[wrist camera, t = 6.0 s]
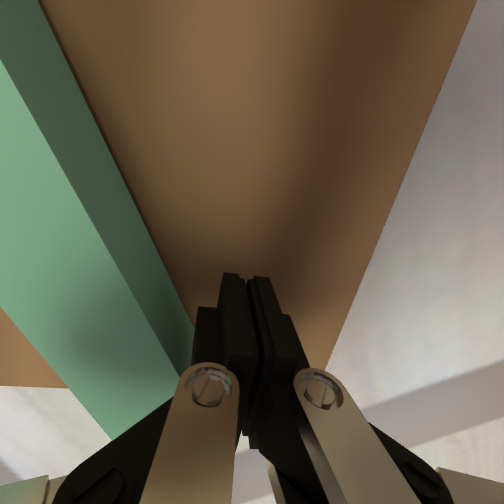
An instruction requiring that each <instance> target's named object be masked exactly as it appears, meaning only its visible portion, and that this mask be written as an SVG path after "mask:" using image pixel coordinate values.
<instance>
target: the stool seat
mask: <svg viewBox="0 0 504 504" xmlns="http://www.w3.org/2000/svg"><path fill="white" fill-rule="evenodd" d="M37 1H38V3H39V5H40V7H41V9H42V11H43V13H44V15H45V17H46V19H47V21H48V24H49V26H50V28H51V30H52V32H53V34H54V36H55V38H56V40H57V42H58V45H59V47H60V49H61V51H62V53H63V55H64V57H65V59H66V61H67V63H68V65H69V68H70V70H71V72H72V74H73V76H74V78H75V80H76V82H77V84H78V86H79V89H80V91H81V93H82V95H83V97H84V99H85V101H86V103H87V105H88V107H89V109H90V112H91V114H92V116H93V118H94V120H95V122H96V124H97V126H98V128H99V130H100V132H101V135H102V137H103V139H104V141H105V143H106V145H107V147H108V149H109V151H110V153H111V156H112V158H113V160H114V162H115V164H116V166H117V168H118V170H119V172H120V174H121V176H122V179H123V181H124V183H125V185H126V187H127V189H128V191H129V193H130V195H131V197H132V200H133V202H134V204H135V206H136V208H137V210H138V212H139V214H140V216H141V218H142V220H143V223H144V225H145V227H146V229H147V231H148V233H149V235H150V237H151V239H152V241H153V244H154V246H155V248H156V250H157V252H158V254H159V256H160V258H161V260H162V262H163V264H164V267H165V269H166V271H167V273H168V275H169V277H170V279H171V281H172V283H173V285H174V288H175V290H176V292H177V294H178V296H179V298H180V300H181V302H182V304H183V306H184V308H185V311H186V313H187V315H188V317H189V319H190V321H191V323H192V325H193V327H194V329H195V323H196V317H197V310H198V306H203V307H214V308H217V303H218V298H219V292H220V286H221V281H222V275H223V272H228V273H237V274H239V277H240V278H244V280H245V285H246V283H247V280H248V279H253V276H263V277H269V278H270V280H271V283H272V286H273V288H274V291H275V294H276V297H277V299H278V302H279V305H280V308H281V311H282V313H283V314H288V315H290V317H291V319H292V322H293V324H294V327H295V329H296V332H297V334H298V337H299V339H300V342H301V344H302V347H303V350H304V352H305V355H306V357H307V360H308V362H309V365H310V367H311V368H317V369H321V370H325V368H326V365H327V363H328V360H329V358H330V356H331V353H332V351H333V348H334V346H335V344H336V341H337V339H338V336H339V334H340V331H341V329H342V327H343V324H344V322H345V319H346V317H347V314H348V312H349V310H350V307H351V305H352V302H353V300H354V297H355V295H356V293H357V290H358V288H359V285H360V283H361V280H362V278H363V276H364V273H365V271H366V268H367V266H368V264H369V261H370V259H371V256H372V254H373V251H374V249H375V247H376V244H377V242H378V239H379V237H380V234H381V232H382V230H383V227H384V225H385V222H386V220H387V217H388V215H389V213H390V210H391V208H392V205H393V203H394V201H395V198H396V196H397V193H398V191H399V188H400V186H401V184H402V181H403V179H404V176H405V174H406V171H407V169H408V167H409V164H410V162H411V159H412V157H413V154H414V152H415V150H416V147H417V145H418V142H419V140H420V137H421V135H422V133H423V130H424V128H425V125H426V123H427V121H428V118H429V116H430V113H431V111H432V108H433V106H434V104H435V101H436V99H437V96H438V94H439V91H440V89H441V87H442V84H443V82H444V79H445V77H446V74H447V72H448V70H449V67H450V65H451V62H452V60H453V58H454V55H455V53H456V50H457V48H458V45H459V43H460V41H461V38H462V36H463V33H464V31H465V28H466V26H467V24H468V21H469V19H470V16H471V14H472V11H473V9H474V7H475V4H476V2H477V0H37ZM0 386H23V387H47V388H68V387H67V386H66V385H65V383H64V382H63V381H62V380H61V379H60V377H59V376H58V375H57V374H56V373H55V371H54V370H53V369H52V368H51V367H50V365H49V364H48V363H47V362H46V361H45V359H44V358H43V357H42V356H41V355H40V353H39V352H38V351H37V350H36V349H35V347H34V346H33V345H32V344H31V343H30V341H29V340H28V339H27V338H26V337H25V335H24V334H23V333H22V332H21V331H20V330H19V328H18V327H17V326H16V325H15V324H14V322H13V321H12V320H11V319H10V318H9V316H8V315H7V314H6V313H5V312H4V310H3V309H2V308H1V307H0Z"/></svg>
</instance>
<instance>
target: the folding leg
mask: <svg viewBox="0 0 504 504" xmlns="http://www.w3.org/2000/svg"><path fill="white" fill-rule="evenodd" d="M0 307H1V308H2V309H3V310H4V312H5V313H6V314H7V315H8V316H9V318H10V319H11V320H12V321H13V322H14V324H15V325H16V326H17V327H18V328H19V330H20V331H21V332H22V333H23V334H24V335H25V337H26V338H27V339H28V340H29V341H30V343H31V344H32V345H33V346H34V347H35V349H36V350H37V351H38V352H39V353H40V355H41V356H42V357H43V358H44V359H45V361H46V362H47V363H48V364H49V365H50V367H51V368H52V369H53V370H54V371H55V373H56V374H57V375H58V376H59V377H60V379H61V380H62V381H63V382H64V383H65V385H66V386H67V387H68V388H69V389H70V391H71V392H72V393H73V394H74V395H75V396H76V398H77V399H78V400H79V401H80V402H81V404H82V405H83V406H84V407H85V408H86V410H87V411H88V412H89V413H90V414H91V416H92V417H93V418H94V419H95V420H96V422H97V423H98V424H99V425H100V426H101V428H102V429H103V430H104V431H105V432H106V434H107V435H108V436H109V437H110V438H111V440H112V441H113V440H114V439H115V438H117V437H118V436H119V435H121V434H122V433H124V432H125V431H126V430H128V429H129V428H130V427H132V426H133V425H135V424H136V423H137V422H139V421H140V420H141V419H143V418H144V417H146V416H147V415H148V414H150V413H151V412H152V411H154V410H155V409H157V408H158V407H159V406H161V405H162V404H163V403H165V402H166V401H167V400H169V399H170V398H172V397H173V396H174V394H175V391H176V388H177V385H178V382H179V379H180V378H181V376H182V374H183V373H184V372H185V371H186V370H187V369H188V368H189V367H191V359H192V348H193V339H194V331H195V329H194V327H193V325H192V323H191V321H190V319H189V317H188V315H187V313H186V311H185V308H184V306H183V304H182V302H181V300H180V298H179V296H178V294H177V292H176V290H175V288H174V285H173V283H172V281H171V279H170V277H169V275H168V273H167V271H166V269H165V267H164V264H163V262H162V260H161V258H160V256H159V254H158V252H157V250H156V248H155V246H154V244H153V241H152V239H151V237H150V235H149V233H148V231H147V229H146V227H145V225H144V223H143V220H142V218H141V216H140V214H139V212H138V210H137V208H136V206H135V204H134V202H133V200H132V197H131V195H130V193H129V191H128V189H127V187H126V185H125V183H124V181H123V179H122V176H121V174H120V172H119V170H118V168H117V166H116V164H115V162H114V160H113V158H112V156H111V153H110V151H109V149H108V147H107V145H106V143H105V141H104V139H103V137H102V135H101V132H100V130H99V128H98V126H97V124H96V122H95V120H94V118H93V116H92V114H91V112H90V109H89V107H88V105H87V103H86V101H85V99H84V97H83V95H82V93H81V91H80V89H79V86H78V84H77V82H76V80H75V78H74V76H73V74H72V72H71V70H70V68H69V65H68V63H67V61H66V59H65V57H64V55H63V53H62V51H61V49H60V47H59V45H58V42H57V40H56V38H55V36H54V34H53V32H52V30H51V28H50V26H49V24H48V21H47V19H46V17H45V15H44V13H43V11H42V9H41V7H40V5H39V3H38V1H37V0H0Z"/></svg>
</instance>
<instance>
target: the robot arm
mask: <svg viewBox="0 0 504 504" xmlns="http://www.w3.org/2000/svg"><path fill="white" fill-rule="evenodd" d="M241 430H242V434H243V436H248V437H249V446H250V449H259V452H260V453H261V454H262V455H263V456H264V457H265V458H266V459H267V462H266V465H267V472H268V476H269V479H270V483H271V486H272V490H273V493H274V497H275V500H276V503H277V504H504V483H500V482H496V481H492V480H488V479H484V478H480V477H476V476H472V475H468V474H464V473H460V472H456V471H452V470H448V469H444V468H440V467H437V468H436V470H434V469H433V468H432V467H431V466H429V465H428V464H427V463H426V462H425V461H423V460H422V459H421V458H419V457H418V456H416V455H415V454H414V453H412V452H411V451H409V450H408V449H406V448H405V447H404V446H402V445H401V444H399V443H398V442H396V441H395V440H393V439H392V438H391V437H389V436H388V435H386V434H385V433H383V432H382V431H381V430H379V429H378V428H376V427H375V426H373V425H372V424H371V423H369V422H367V420H366V418H365V417H364V415H363V414H362V412H361V411H360V409H359V408H358V406H357V405H356V403H355V402H354V400H353V399H352V397H351V396H350V394H349V393H348V391H347V389H346V388H345V387H344V385H343V384H342V383H341V382H340V381H339V380H338V379H337V378H336V377H334V376H333V375H332V374H330V373H328V372H326V371H324V370H321V369H317V368H311V367H310V365H309V362H308V360H307V357H306V355H305V352H304V350H303V347H302V344H301V342H300V339H299V337H298V334H297V332H296V329H295V327H294V324H293V322H292V319H291V317H290V315H288V314H283V313H282V311H281V308H280V305H279V302H278V299H277V297H276V294H275V291H274V288H273V286H272V283H271V280H270V278H269V277H263V276H253V279H248V280H247V283H246V285H245V280H244V278H240V277H239V274H237V273H228V272H223V275H222V281H221V286H220V292H219V298H218V303H217V308H214V307H203V306H198V310H197V317H196V323H195V331H194V339H193V348H192V359H191V367H189V368H188V369H187V370H186V371H185V372H184V373H183V374H182V376H181V378H180V379H179V382H178V385H177V388H176V391H175V394H174V396H173V397H172V398H170V399H169V400H167V401H166V402H165V403H163V404H162V405H161V406H159V407H158V408H157V409H155V410H154V411H152V412H151V413H150V414H148V415H147V416H146V417H144V418H143V419H141V420H140V421H139V422H137V423H136V424H135V425H133V426H132V427H130V428H129V429H128V430H126V431H125V432H124V433H122V434H121V435H119V436H118V437H117V438H115V439H114V440H113V441H111V442H110V443H108V444H107V445H106V446H104V447H103V448H102V449H100V450H99V451H98V452H96V453H95V454H93V455H92V456H91V457H89V458H88V459H87V460H85V461H84V462H82V463H81V464H80V465H79V466H78V467H76V468H75V469H74V470H73V471H72V472H71V473H70V474H69V475H67V476H63V477H59V478H55V479H51V480H49V475H45V476H40V477H36V478H32V479H28V480H24V481H20V482H16V483H12V484H7V485H3V486H0V504H231V497H232V483H233V471H234V470H233V469H234V457H235V452H236V449H237V445H238V441H239V438H240V434H241Z"/></svg>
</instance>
